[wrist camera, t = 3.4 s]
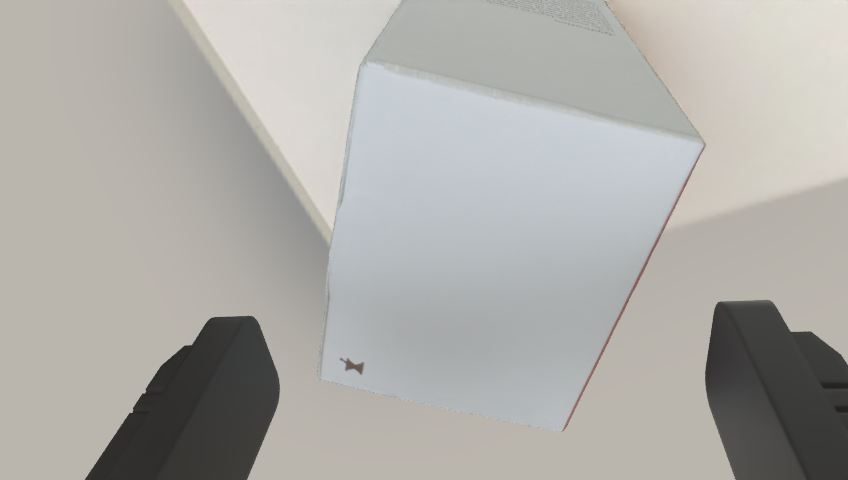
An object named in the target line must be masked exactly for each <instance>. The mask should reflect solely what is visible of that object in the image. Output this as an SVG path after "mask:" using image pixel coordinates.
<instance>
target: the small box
mask: <svg viewBox="0 0 848 480" xmlns="http://www.w3.org/2000/svg"><path fill="white" fill-rule="evenodd" d="M705 146H706V145H705V143H704V141H703V139H702V137H701V136H700V134H699V133H698V132H697V130H696V129H695V127H694V126H693V125H692V123H691V122H690V121H689V119H688V118H687V116H686V115H685V113H684V112H683V111H682V109H681V108H680V106H679V105H678V103H677V102H676V101H675V99H674V98H673V96H672V95H671V93H670V92H669V91H668V89H667V88H666V86H665V85H664V83H663V82H662V81H661V79H660V78H659V77H658V75H657V74H656V73H655V71H654V70H653V68H652V67H651V65H650V64H649V63H648V61H647V60H646V58H645V57H644V56H643V54H642V53H641V51H640V50H639V49H638V47H637V46H636V44H635V43H634V41H633V40H632V39H631V37H630V36H629V34H628V33H627V31H626V30H625V29H624V27H623V26H622V24H621V23H620V21H619V20H618V19H617V17H616V16H615V15H614V14H613V12H612V11H611V9H610V8H609V6H608V5H607V4H606V2H605V1H604V0H402V2H401V3H400V5H399V6H398V8H397V9H396V11H395V12H394V14H393V15H392V17H391V18H390V20H389V22H388V23H387V25H386V26H385V28H384V29H383V31H382V32H381V34H380V35H379V36H378V38H377V39H376V41H375V42H374V44H373V46H372V47H371V49H370V50H369V52H368V53H367V55H366V56H365V58H364V60H363V61H362V63H361V64H360V67H359V71H358V75H357V81H356V87H355V93H354V99H353V105H352V111H351V118H350V124H349V130H348V137H347V144H346V150H345V158H344V166H343V172H342V178H341V184H340V191H339V197H338V204H337V210H336V217H335V223H334V228H333V233H332V238H331V244H330V251H329V260H328V269H327V274H326V300H325V311H324V319H323V328H322V336H321V344H320V354H319V362H318V371H317V376H318V378H319V379H320V380H323V381H328V382H332V383H336V384H340V385H344V386H348V387H352V388H356V389H360V390H364V391H368V392H372V393H376V394H381V395H385V396H389V397H394V398H399V399H404V400H408V401H412V402H417V403H422V404H426V405H431V406H435V407H440V408H444V409H449V410H454V411H459V412H464V413H468V414H474V415H479V416H484V417H488V418H493V419H497V420H502V421H506V422H511V423H516V424H521V425H526V426H532V427H537V428H542V429H547V430H551V431H555V432H562V431H564V429H565V428H566V427H567V425H568V423H569V420H570V419H571V416H572V415H573V412H574V410H575V408H576V406H577V404H578V402H579V400H580V398H581V396H582V394H583V392H584V390H585V388H586V386H587V384H588V382H589V380H590V378H591V376H592V374H593V372H594V370H595V368H596V366H597V364H598V362H599V360H600V358H601V356H602V354H603V352H604V350H605V348H606V346H607V344H608V342H609V340H610V338H611V335H612V333H613V331H614V329H615V327H616V325H617V323H618V321H619V319H620V317H621V315H622V314H623V311H624V310H625V307H626V305H627V303H628V301H629V299H630V297H631V295H632V292H633V291H634V289H635V287H636V285H637V284H638V281H639V279H640V277H641V275H642V273H643V271H644V269H645V267H646V265H647V263H648V261H649V259H650V256H651V254H652V252H653V250H654V248H655V247H656V245H657V242H658V241H659V239H660V236H661V234H662V232H663V230H664V228H665V226H666V224H667V222H668V220H669V218H670V216H671V214H672V212H673V210H674V208H675V206H676V204H677V202H678V200H679V198H680V196H681V194H682V192H683V190H684V188H685V186H686V184H687V182H688V180H689V178H690V176H691V173H692V171H693V169H694V167H695V165H696V163H697V161H698V159H699V157H700V155H701V153H702V152H703V150H704V148H705Z"/></svg>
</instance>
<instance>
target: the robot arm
mask: <svg viewBox="0 0 848 480" xmlns="http://www.w3.org/2000/svg"><path fill="white" fill-rule="evenodd" d="M705 382H706V392H707V398H708V402H709V406H710V409H711V412H712V415H713V418H714V420H715V423H716V426H717V429H718V432H719V434H720V437H721V440H722V443H723V445H724V448H725V451H726V454H727V457H728V460H729V462H730V465H731V468H732V471H733V474H734V476H735V479H736V480H848V365H847V363H846V362H845V360H844V359H843V357H842V356H841V354H839V353H838V352H837V351H835V350H834V349H833V348H831V347H830V346H829V345H827V344H826V343H825V342H823V341H822V340H821V339H820V338H818V337H817V336H816V335H815V334H813V333H812V332H790V330H789V329H788V327H787V325H786V323H785V322H784V320H783V318H782V317H781V315H780V313H779V311H778V309H777V308H776V306H775V305H774V304H773V302H771V301H770V300H755V301H729V302H728V301H726V302H718V303H717V305H716V307H715V311H714V316H713V323H712V330H711V337H710V343H709V350H708V357H707V363H706V371H705ZM279 390H280V385H279V378H278V374H277V371H276V368H275V366H274V363H273V360H272V357H271V355H270V352H269V350H268V347H267V344H266V342H265V339H264V336H263V333H262V331H261V328H260V325H259V323H258V321H257V320H256V319H255V318H254V317H252V316H238V317H214V318H211V319H210V320H209V321H207V323H206V324H205V326H204V327H203V329H202V330H201V332H200V333H199V335H198V337H197V338H196V340H195V342H194V343H193V345H190V346H184V347H183V348H182V349H180V350H179V351H178V352H177V353H176V354H175V355H173V356H172V357H171V358H170V359H169V360H168V361H166V363H164V364H163V365H162V366H161V367H160V369H159V370H158V371H157V373H156V374H155V376H154V377H153V379H152V381H151V382H150V383H149V385H148V386H147V388H146V393H145V394H142V395H141V397H140V398H139V400H138V401H137V403H136V404H135V406H134V407H133V413H129V415H128V416H127V418H126V419H125V421H124V422H123V424H122V425H121V427H120V428H119V430H118V431H117V433H116V434H115V436H114V437H113V439H112V440H111V442H110V443H109V445H108V446H107V448H106V449H105V451H104V452H103V454H102V455H101V457H100V458H99V459H98V461H97V463H96V464H95V465H94V467H93V469H92V470H91V472H90V473H89V474H88V476H87V477H86V479H85V480H247V478H248V476H249V474H250V471H251V469H252V466H253V464H254V461H255V459H256V456H257V454H258V452H259V449H260V447H261V445H262V442H263V440H264V437H265V435H266V433H267V430H268V428H269V425H270V423H271V421H272V418H273V416H274V413H275V411H276V408H277V405H278V401H279V392H280V391H279Z"/></svg>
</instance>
